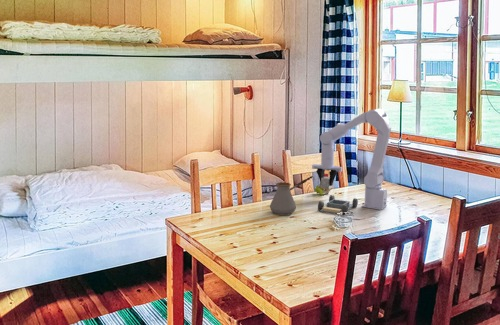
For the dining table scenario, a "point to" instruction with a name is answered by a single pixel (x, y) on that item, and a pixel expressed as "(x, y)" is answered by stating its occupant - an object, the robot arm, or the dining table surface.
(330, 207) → the chassis
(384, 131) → the robot arm
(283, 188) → the coffee pot
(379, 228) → the dining table surface
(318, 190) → the bird rattle
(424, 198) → the dining table surface
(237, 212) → the dining table surface
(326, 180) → the block
